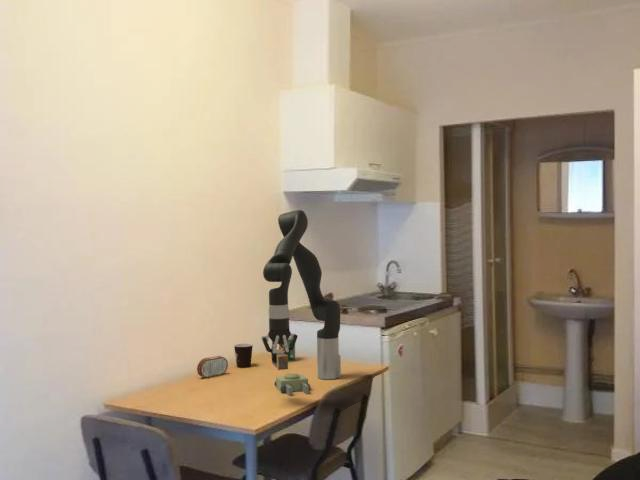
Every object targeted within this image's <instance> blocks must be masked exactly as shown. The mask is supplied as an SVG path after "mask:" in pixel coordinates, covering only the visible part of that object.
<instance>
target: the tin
mask: <svg viewBox="0 0 640 480" xmlns="http://www.w3.org/2000/svg"><path fill="white" fill-rule="evenodd" d="M228 367H229V363H228V359H226V358H225V357H224V356H222V355H217V356H211V357H204V358H202V359H201V360H199V362H198V364H197V367H196V371H197V375H198V376H199V377H202V378H206V379H208V378H213V377H218V376H222V375H224V374H225V373H226V372H227V370H228Z"/></svg>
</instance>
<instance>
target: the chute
mask: <svg viewBox="0 0 640 480" xmlns="http://www.w3.org/2000/svg"><path fill="white" fill-rule="evenodd" d="M271 364H272V365H273V366H274V367H275V368H276V370H277V371H282V370H289V362H288V355H287V354H285V353H284V352H283V351H282V350H281V349H279V348H276V363H273V362H272V361H271Z"/></svg>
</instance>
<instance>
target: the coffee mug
mask: <svg viewBox="0 0 640 480" xmlns="http://www.w3.org/2000/svg"><path fill="white" fill-rule="evenodd" d="M233 348H234V354H235V356H234V357H235V362H236V368H237V369H247V368H248V369H249V368H251V366H252V356H253V344H252V343H238V344H234V345H233Z"/></svg>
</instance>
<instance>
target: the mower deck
mask: <svg viewBox="0 0 640 480" xmlns="http://www.w3.org/2000/svg"><path fill="white" fill-rule="evenodd" d="M273 384H274V386H275V388H276V390H278V391H279V392H281V393H283V394H287V396H289V397H290V396H291V397H292V396H293V392H301V391H302V393H305V395H309V394H310V389H311V385H310V383H309V378H307V376H305V375H304V374H300V373H299V374H298V373H287V374H284V375H282V376H281V375H280V376H276V377H275V381H274V383H273Z"/></svg>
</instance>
